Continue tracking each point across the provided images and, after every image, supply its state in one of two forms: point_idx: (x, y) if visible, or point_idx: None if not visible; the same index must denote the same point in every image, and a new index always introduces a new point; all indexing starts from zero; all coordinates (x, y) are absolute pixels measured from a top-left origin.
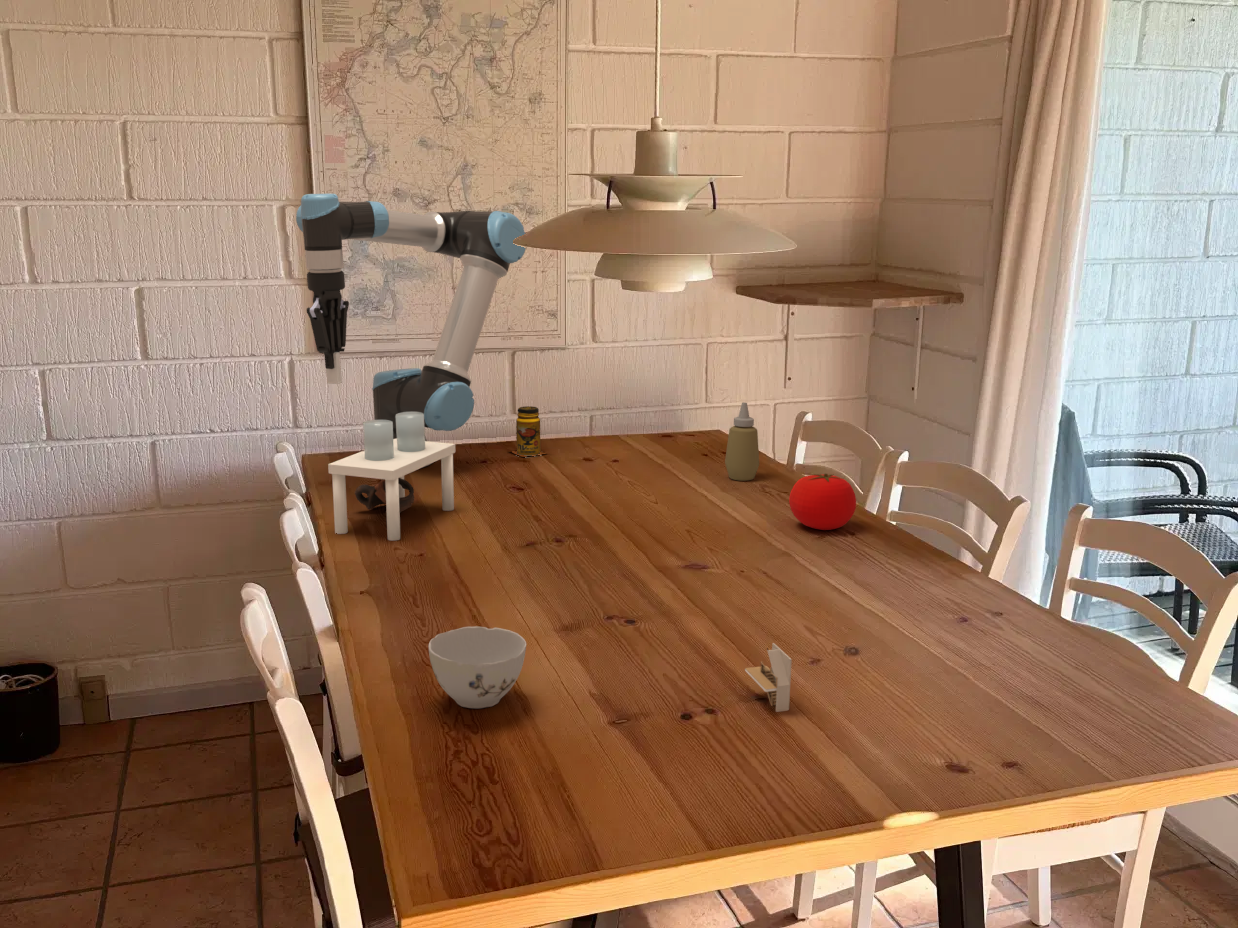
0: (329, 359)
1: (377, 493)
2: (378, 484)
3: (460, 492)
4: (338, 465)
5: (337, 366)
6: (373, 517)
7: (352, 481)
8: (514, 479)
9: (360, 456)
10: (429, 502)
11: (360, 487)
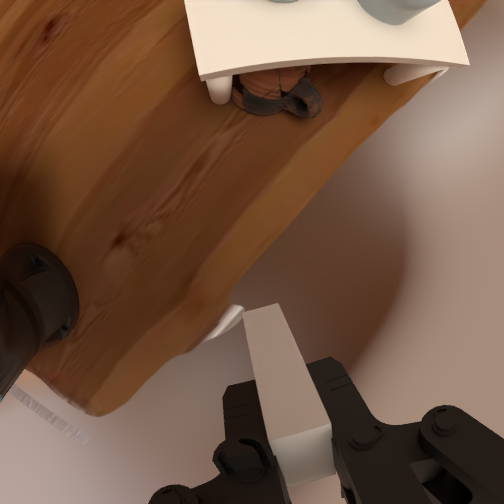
0: (359, 401)
1: (309, 66)
2: (291, 76)
3: (103, 69)
4: (463, 44)
5: (295, 358)
6: (310, 78)
7: (154, 277)
8: (10, 75)
9: (402, 36)
10: (183, 61)
11: (320, 99)
